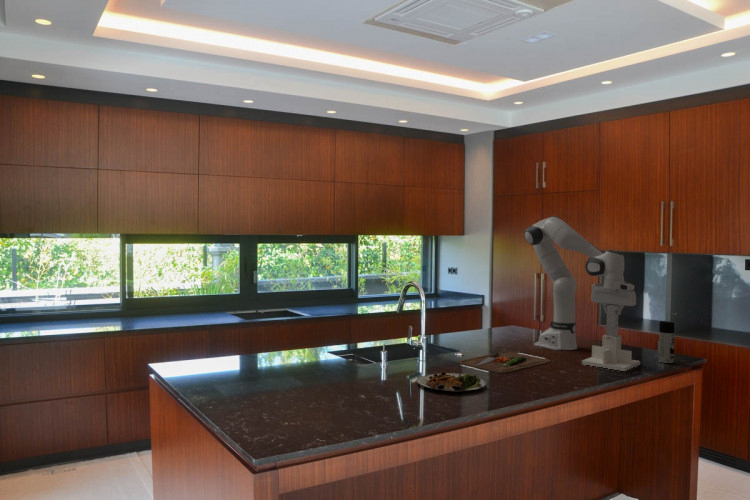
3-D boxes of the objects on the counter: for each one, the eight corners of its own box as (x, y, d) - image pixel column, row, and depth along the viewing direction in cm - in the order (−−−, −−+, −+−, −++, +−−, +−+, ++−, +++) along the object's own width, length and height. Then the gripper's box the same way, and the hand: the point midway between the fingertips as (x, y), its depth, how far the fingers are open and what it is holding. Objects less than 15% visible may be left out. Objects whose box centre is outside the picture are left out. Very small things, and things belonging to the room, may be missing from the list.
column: (605, 343, 273) (606, 305, 273) (608, 342, 276) (610, 305, 276) (614, 344, 270) (615, 306, 270) (617, 343, 273) (618, 305, 273)
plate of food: (499, 386, 233) (499, 371, 233) (457, 399, 214) (457, 383, 214) (445, 375, 253) (445, 361, 253) (402, 386, 234) (402, 371, 234)
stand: (581, 364, 273) (582, 335, 273) (598, 358, 288) (599, 330, 287) (624, 372, 260) (625, 341, 259) (640, 365, 274) (641, 336, 274)
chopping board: (497, 376, 251) (498, 369, 251) (452, 364, 271) (452, 358, 271) (555, 362, 280) (555, 356, 280) (510, 352, 300) (510, 346, 300)
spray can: (672, 365, 276) (673, 323, 275) (656, 362, 280) (658, 322, 279) (674, 362, 281) (676, 321, 280) (659, 360, 285) (660, 320, 284)
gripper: (589, 283, 277) (588, 311, 278) (633, 286, 263) (632, 316, 264) (594, 282, 282) (593, 310, 282) (638, 286, 268) (636, 315, 268)
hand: (612, 313), depth 273 cm, fingers closed on column, 4 cm apart
